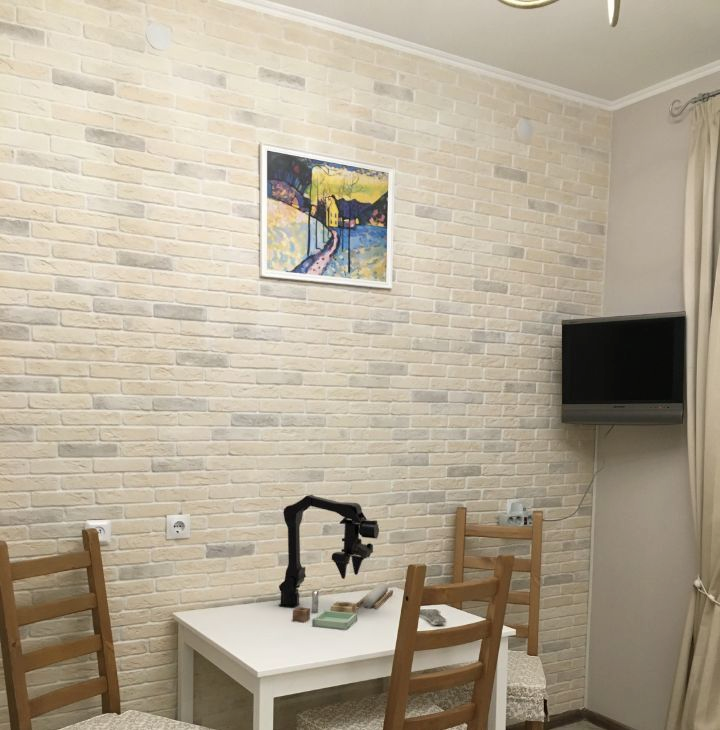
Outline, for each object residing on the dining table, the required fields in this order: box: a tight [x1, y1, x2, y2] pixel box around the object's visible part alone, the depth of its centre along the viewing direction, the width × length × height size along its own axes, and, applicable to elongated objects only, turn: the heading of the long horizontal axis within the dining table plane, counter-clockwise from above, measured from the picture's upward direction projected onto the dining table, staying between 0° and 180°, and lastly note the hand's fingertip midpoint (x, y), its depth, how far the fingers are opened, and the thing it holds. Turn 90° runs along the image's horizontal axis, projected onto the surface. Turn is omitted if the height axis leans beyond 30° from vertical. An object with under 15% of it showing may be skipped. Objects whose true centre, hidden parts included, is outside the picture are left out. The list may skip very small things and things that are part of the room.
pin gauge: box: [311, 590, 319, 614], centre depth 301 cm, size 2×2×8 cm
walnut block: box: [292, 606, 311, 623], centre depth 290 cm, size 5×5×4 cm
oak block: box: [330, 600, 358, 614], centre depth 300 cm, size 8×8×4 cm
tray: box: [311, 609, 358, 631], centre depth 286 cm, size 13×13×2 cm
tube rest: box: [356, 589, 394, 610], centre depth 321 cm, size 8×26×2 cm, turn 163°
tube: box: [362, 582, 389, 608], centre depth 321 cm, size 5×5×25 cm
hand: (349, 576), depth 303 cm, fingers open, 9 cm apart
